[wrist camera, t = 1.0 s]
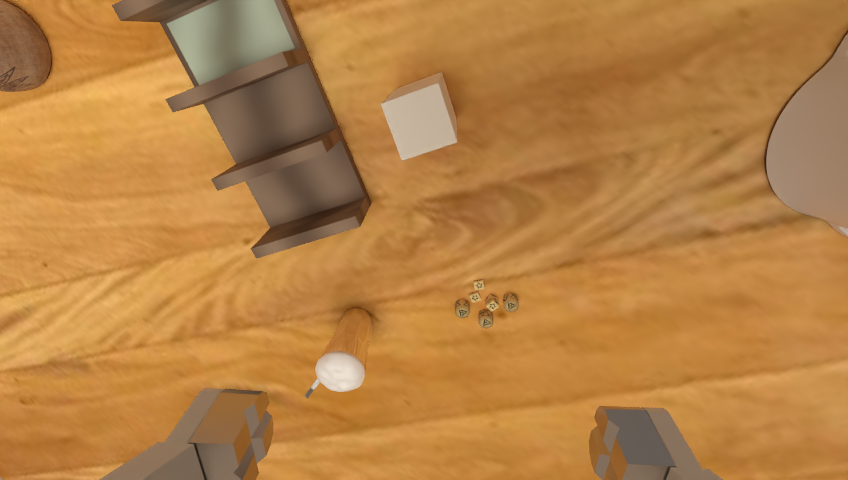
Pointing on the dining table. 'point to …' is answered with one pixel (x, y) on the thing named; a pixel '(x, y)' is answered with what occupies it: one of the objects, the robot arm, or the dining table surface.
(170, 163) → the dining table surface
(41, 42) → the figurine
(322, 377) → the milkshake
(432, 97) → the peg
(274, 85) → the slot rack
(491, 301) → the dice set
